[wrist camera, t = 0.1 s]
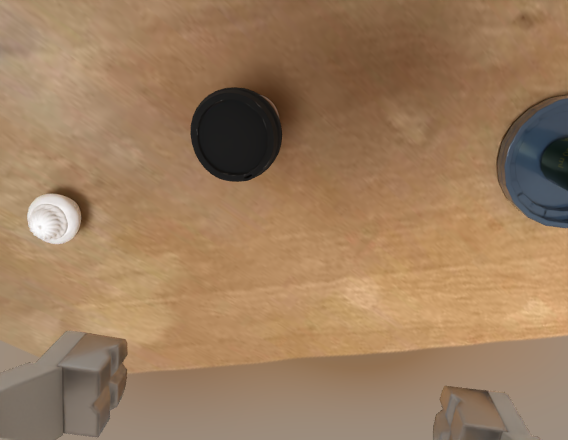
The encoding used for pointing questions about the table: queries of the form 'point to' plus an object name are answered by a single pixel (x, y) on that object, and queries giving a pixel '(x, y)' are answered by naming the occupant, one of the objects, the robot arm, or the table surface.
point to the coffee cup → (236, 134)
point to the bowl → (535, 163)
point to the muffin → (54, 218)
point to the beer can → (556, 163)
